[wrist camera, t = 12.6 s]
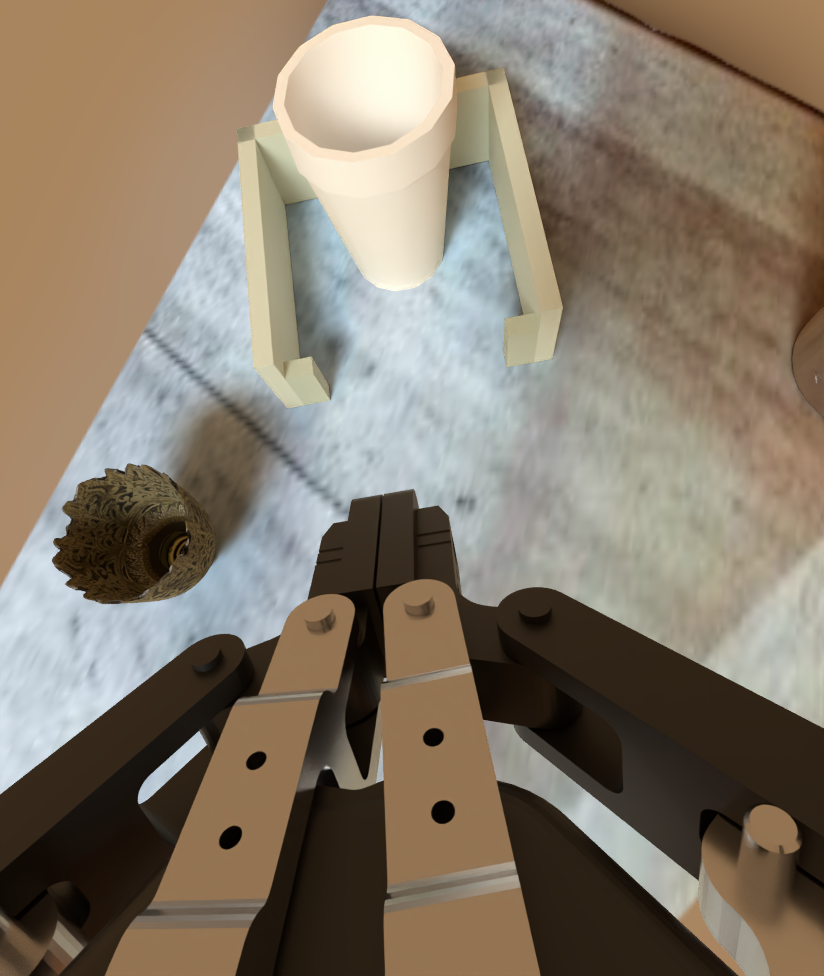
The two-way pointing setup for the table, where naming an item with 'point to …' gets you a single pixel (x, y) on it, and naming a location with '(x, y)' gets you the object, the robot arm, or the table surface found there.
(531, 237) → the walled box
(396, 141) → the foam cup
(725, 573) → the table surface
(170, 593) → the cup
